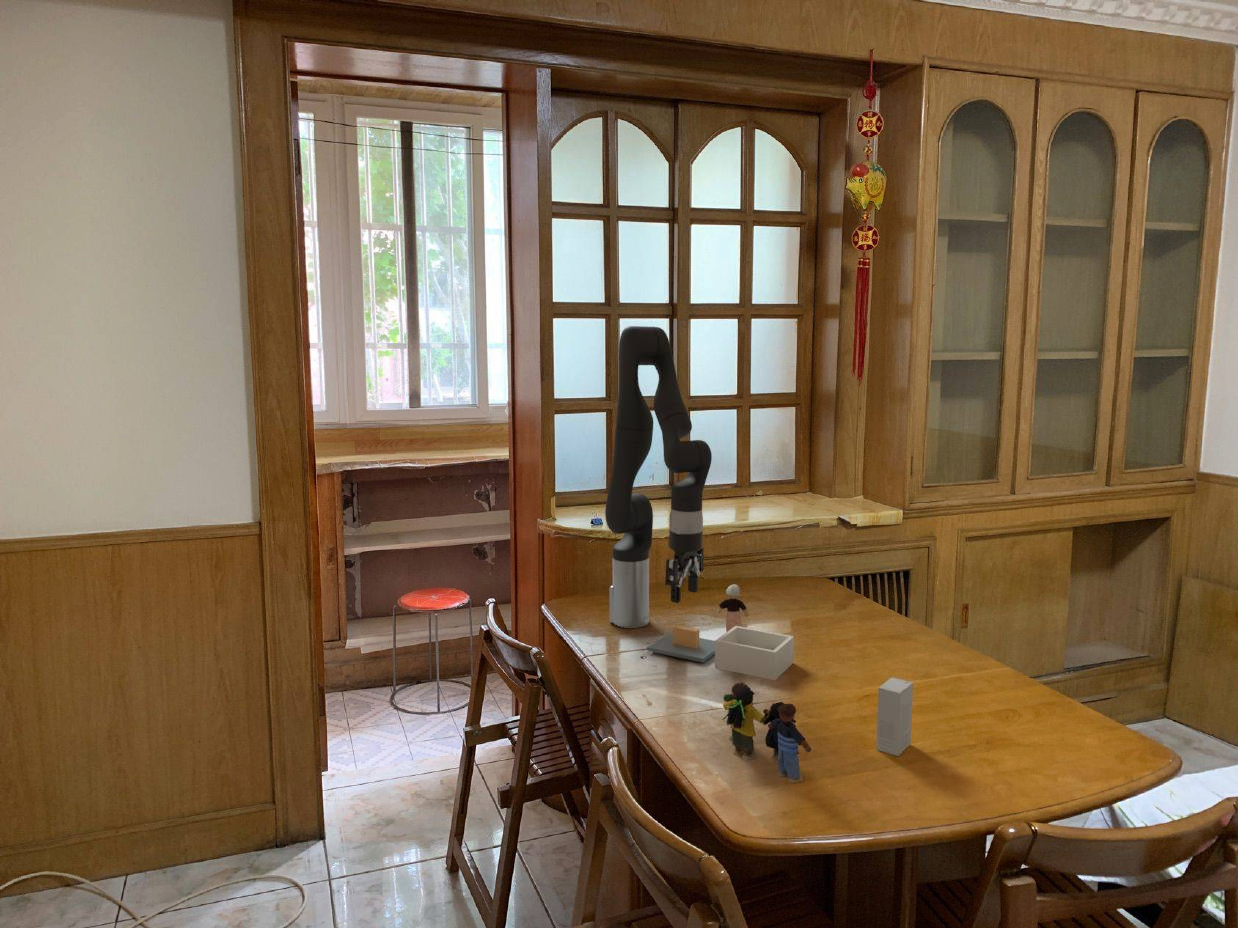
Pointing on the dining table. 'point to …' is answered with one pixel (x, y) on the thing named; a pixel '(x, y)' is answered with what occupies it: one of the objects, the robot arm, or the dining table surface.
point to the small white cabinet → (754, 652)
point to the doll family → (779, 734)
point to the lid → (684, 645)
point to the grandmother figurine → (733, 608)
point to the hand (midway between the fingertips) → (684, 596)
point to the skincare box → (894, 716)
